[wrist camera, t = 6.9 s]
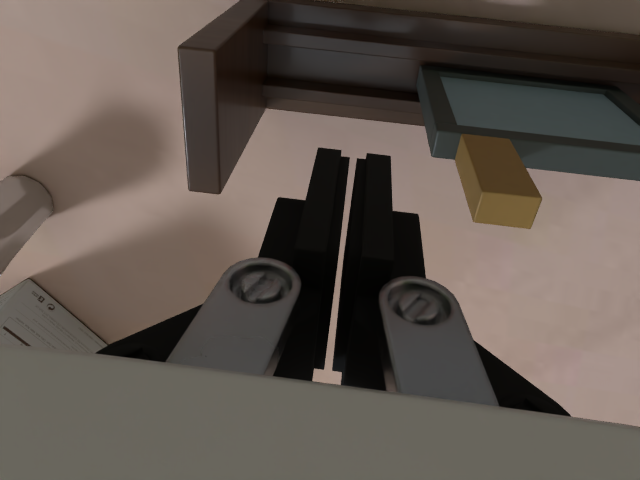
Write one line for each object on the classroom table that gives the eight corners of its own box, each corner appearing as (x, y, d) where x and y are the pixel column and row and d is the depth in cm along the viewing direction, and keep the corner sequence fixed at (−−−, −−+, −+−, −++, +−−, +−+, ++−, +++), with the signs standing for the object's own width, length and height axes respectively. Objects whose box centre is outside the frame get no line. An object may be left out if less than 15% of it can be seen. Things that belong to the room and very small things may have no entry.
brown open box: (248, -7, 23) (176, 45, 15) (682, 39, 23) (860, 121, 14) (247, 98, 26) (187, 191, 18) (634, 141, 26) (760, 259, 17)
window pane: (419, 64, 23) (452, 187, 13) (617, 85, 23) (799, 228, 13) (415, 86, 24) (444, 219, 14) (607, 107, 23) (776, 258, 14)
